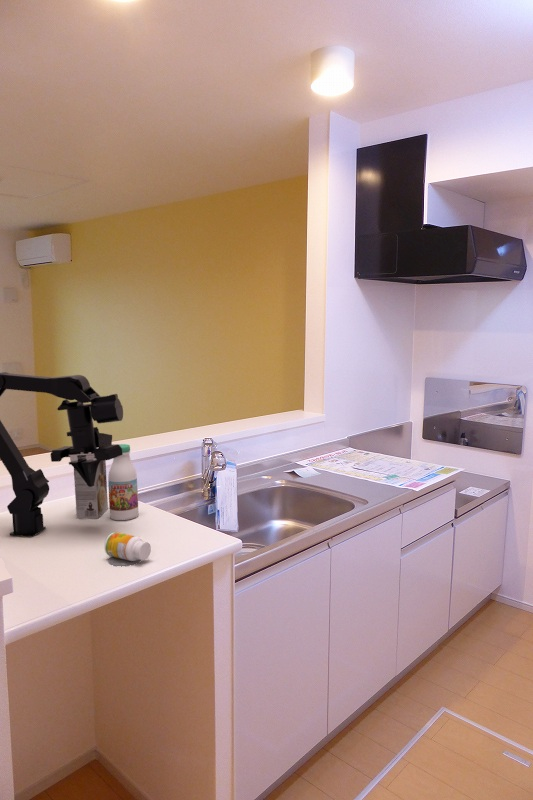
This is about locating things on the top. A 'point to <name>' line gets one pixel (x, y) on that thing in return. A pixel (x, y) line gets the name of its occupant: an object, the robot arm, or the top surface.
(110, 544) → the supplement bottle
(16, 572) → the top surface
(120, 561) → the coaster
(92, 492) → the coffee box
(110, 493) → the milk bottle
